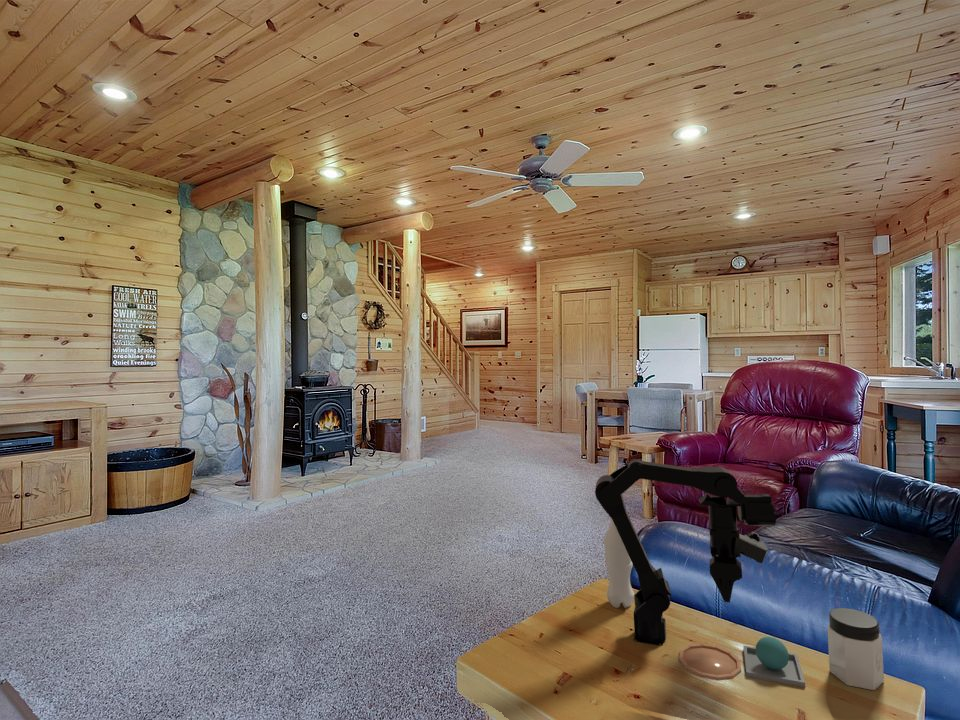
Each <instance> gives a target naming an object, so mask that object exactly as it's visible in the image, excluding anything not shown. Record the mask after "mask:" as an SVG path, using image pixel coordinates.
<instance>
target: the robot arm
mask: <svg viewBox="0 0 960 720" xmlns="http://www.w3.org/2000/svg"><path fill="white" fill-rule="evenodd" d="M639 480H646V481H653V482H659V483H665V484H671V485H678V486H684V487H685V486H686V487H690V488H691V487H692V488H695V489H697V490H700V491H702V492H704V495H703V496H700V498H699V499H698V501H699V503H700V504H701V506H707V507H708V521H709V549H710V555H711V558H710V559H709V575H710V576H711V578H712V580H713V581H714V583H715V585H716V587H717V589H718V591H719V593H720V596H721V598H722V599H723V601H724V603H731V598H732V594H733V589H734V584H735V583H736V581H740V580H741V579H743V569H742V568H743V567H742V562H740V561H739V560H738V559H737V558H741V555H743V556H744V557H747V558H749V559H752V560H753V561H755V562H756V563H759V564H763V563H764V561H765V559H766V556H767V553H768V547H767V544H766V543H764V541H761V539H760V535H759V533H756V532H754V531H751V532H749V533H748V534H744V535H743V534H741V533H740V531H739V530H740V529H739V528H738V519H739V521H743V522H744V525H745V526H753V527H756V526H757V527H758V526H759V527H775V526H776V524H777V513H776V511H775V507H774V504H773V500H772V496H771V495H770V494H768V493H761V494H745V493H744V492H743V491H742V490H741V488H738V482H737V479H736V478H735V476H734V474H732V473H731V472H730V471H729V470H728V469H727V468H725V467H722V466H700V467H685V466H678V465H672V464H665V463H657V462H654V461H653V462H650V461H645V460H641V459H638V458H637V459H636V458H634V459H631V460H630V461H629V462H627V464H625V465H623V466H622V467H619V468H618V469H616V470H614V471H613V472H612V473H611V474H605V475H602V476H600V477H598V479H597V480H596V483H595V490H594V493H595V498H596V499H597V501H598V503H599V504H600V506H601V508H602V509H603V510H604V511H605V512H606V513H607V515H608V516H609V518H610V517H611V518H612V520H613V522H614V524H615V526H616V529H617V531H618V533H619V535H620V537H621V540H622V542H623V544H624V546H625V548H626V550H627V553H628V555H629V557H630V559H631V561H632V564H633V566H632V567H633V568H634V570H635V572H636V574H637V577H638V582H639V583H638V584H639V586H640V589H639V590H638V591H637V592H635V593H634V599H633V602H634V610H633V611H634V612H633V626H634V628H633V633H634V636H633V641H634V642H637V643H643V644H648V645H654V646H659V647H662V646H664V642H666V640H667V623H666V618H664V615H663V614H664V613H665V612H666V611H667V610H668V609H669V608H670V605H671V599H670V596H672V591H671V588H670V584H669V582H668V580H667V579H666V578H665V576H664V573H663V570H662V567H659V568H657V569H656V568H655V567H654V566H653V564H652V563H651V561H650V559H649V556H648V555H647V552H646V550H645V548H644V546H643V544H642V542H641V540H640V537H639V536H638V533H637V531H636V529H635V527H634V523H633V522H632V520H631V518H630V516H629V514H628V512H627V509H626V505H625V499H624V497H623V494H624V493H625V492H627V490H629V488H631V487H632V486H633V485H634V484H635V483H636V482H637V481H639ZM726 498H729V499H726ZM737 517H738V518H737Z"/></svg>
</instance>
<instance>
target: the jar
mask: <svg viewBox="0 0 960 720" xmlns="http://www.w3.org/2000/svg"><path fill="white" fill-rule="evenodd" d="M828 617H829V618H828V619H829V625H827V643H828V644H827V645H828V646H827V648H828V663H829V664H828V665H829V672H830V673H831V674H833V675H834V676H835V677H836V678H838V679H839V680H840V681H841V682H842V683H844V684H845V685H847V686H850V687H856V688H861V689H866V690H871V691H876V690H877V688H879V686H881V685H882V684H883V683H884V681H885V678H884V677H885V676H884V659H883V658H884V657H883V655H884V654H883V653H884V652H883V637H882V634H881V633H880V631H881V630H880V623H879V621H878V620H877V618H875V617H874V616H872V615H871V614H869V613H867V612H864V611H861V610H858V609H854V608H853V609H852V608H846V607H836V608H833V609H831V610H830V611H829V613H828Z"/></svg>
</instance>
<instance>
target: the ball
mask: <svg viewBox="0 0 960 720" xmlns="http://www.w3.org/2000/svg"><path fill="white" fill-rule="evenodd" d="M755 647H756V654H757V657H758V659H759V660H760V662H761V663H762V664H763V665H764V666H766V667H767V668H770V669H773V670H780V669H782V668H784V667H785V666H786V665H787V663H788V660H789V654H788V653H789V652H788V649H787V647H786V646H785V644H784V643H783V642H782V641H781V640H780V639H778V638H775V637H773V636H763V637H761V638H760V639H759V640H758V641H757V642H756V644H755Z"/></svg>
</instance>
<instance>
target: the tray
mask: <svg viewBox="0 0 960 720" xmlns="http://www.w3.org/2000/svg"><path fill="white" fill-rule="evenodd" d="M788 654H789V660H788V663H787V665H786V666H785V667H784V668H782V669H780V670H773V669H770V668H767V667H766V666H764V665H763V664H762V663H761V662H760V660H759V659H758V657H757V654H756V646H749V645H743V655H744V665H745V673H746V677H747V678H754V679H757V680H764V681H767V682H774V683H779V684H783V685H790V686H795V687H800V688H801V687H802V688H806V680H805V677H804V674H803V670H802V666H801V663H800V660H799V656H798V653H792V652H788Z"/></svg>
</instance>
